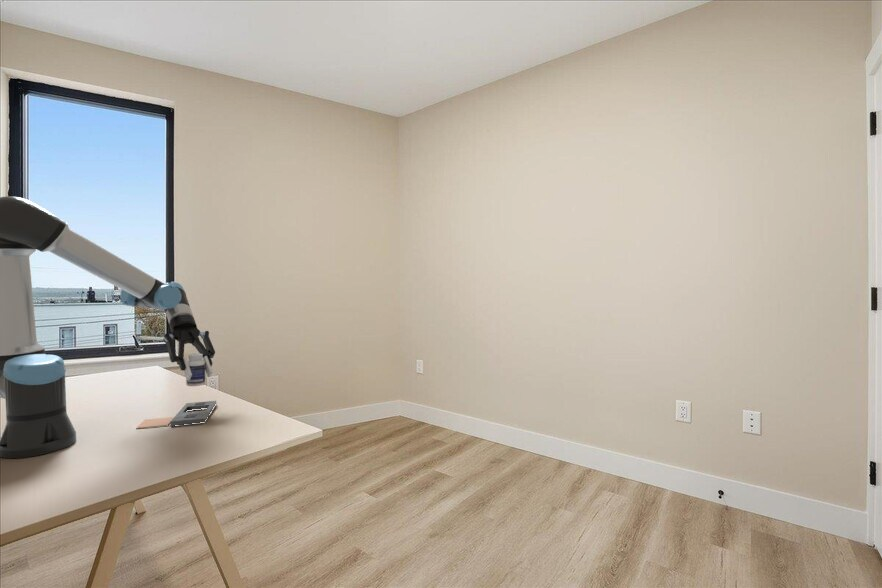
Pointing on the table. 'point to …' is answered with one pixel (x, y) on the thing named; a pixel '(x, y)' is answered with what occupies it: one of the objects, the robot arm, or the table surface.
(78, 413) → the table surface
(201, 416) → the holder
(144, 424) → the coaster
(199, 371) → the pill bottle
